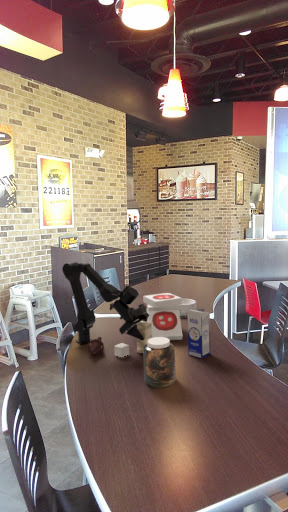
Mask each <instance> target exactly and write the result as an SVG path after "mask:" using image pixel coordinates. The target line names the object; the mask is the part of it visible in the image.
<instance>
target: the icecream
mask: <svg viewBox="0 0 288 512" xmlns="http://www.w3.org/2000/svg"><path fill="white" fill-rule="evenodd" d="M102 339H103V338H102V337H101V336H98V337H97V338H94V339H91V340H92V341H91V342H89V343H87V348H88V349H87V350H88V351H89V353H90V354H92V355H93V356H95V355H99V356H100V355H101V354H102V353H103V352H104V350H105V346H104V342H103V341H102Z"/></svg>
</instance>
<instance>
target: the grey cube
mask: <svg viewBox="0 0 288 512" xmlns="http://www.w3.org/2000/svg"><path fill="white" fill-rule="evenodd" d="M127 355H128V356H130V345H129V344H126V343H124V342H121V343H118V344H116V345H114V356H115V357H117V356H118V358H120V357H121V358H120V359H123V358H125V357H124V356H126V357H128V356H127ZM122 357H123V358H122Z"/></svg>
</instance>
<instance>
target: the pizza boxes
mask: <svg viewBox="0 0 288 512" xmlns="http://www.w3.org/2000/svg"><path fill="white" fill-rule="evenodd" d="M142 298H143V299H142V300H143V302H142V303H143V304H144V303H145V304H146V307H147V308H146V311H147V313H148V314H149V315H150V316H149V317H148V319H147V322H151V325H152V338H154V337H165V338H168V339H169V340H170V341H178V340H180V341H181V340H183V337H184V336H183V330H182V323H181V322H182V321H181V316H180V315H179V310H178V305H180V304H182V299H183V298H182V297H180V296H178V295H176V294H172V293H170V292H163V293H156V294H155V293H154V294H148V295H147V294H146V295H143V296H142Z"/></svg>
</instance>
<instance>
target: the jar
mask: <svg viewBox="0 0 288 512" xmlns="http://www.w3.org/2000/svg"><path fill="white" fill-rule="evenodd" d="M175 353H176V352H175V345H174V344H173V343H171V340H169V339H168V338H165V337H154V338H151V339H149V340H148V344H146V345H145V346H144V350H143V356H142V357H143V377H144V378H143V379H144V383H145V385H147V386H149V387H150V388H151V387H152V388H156V389H157V388H158V389H159V388H167V387H169V386H172V385H174V384H175V382H176V380H177V379H176V354H175Z"/></svg>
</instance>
